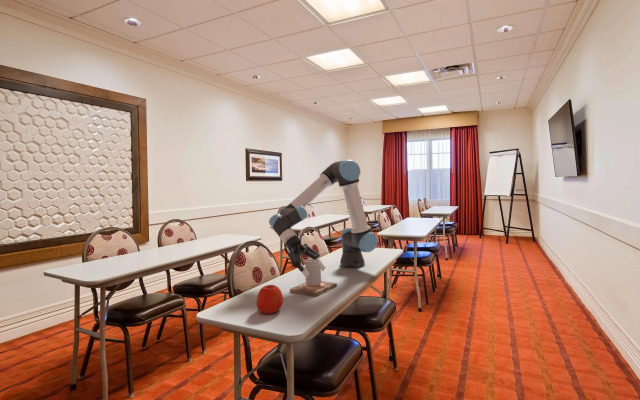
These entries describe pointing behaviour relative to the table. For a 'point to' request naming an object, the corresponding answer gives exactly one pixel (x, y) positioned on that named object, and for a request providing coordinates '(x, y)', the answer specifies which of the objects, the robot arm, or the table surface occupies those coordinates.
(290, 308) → the table surface
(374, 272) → the table surface
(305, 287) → the board
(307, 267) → the can
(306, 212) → the robot arm
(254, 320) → the table surface
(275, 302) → the apple
